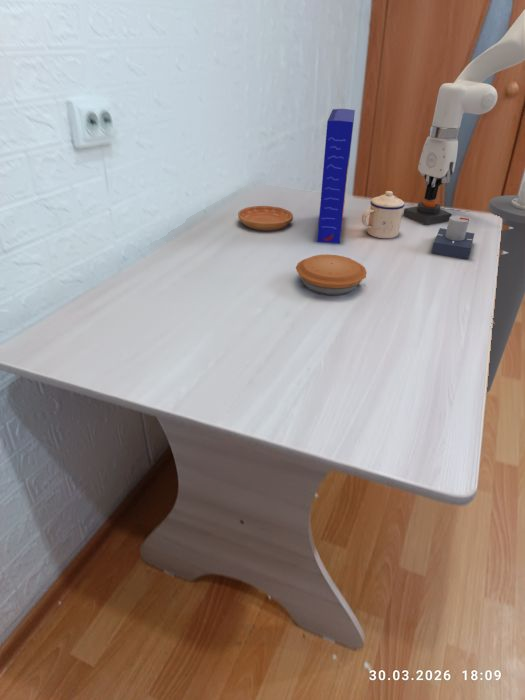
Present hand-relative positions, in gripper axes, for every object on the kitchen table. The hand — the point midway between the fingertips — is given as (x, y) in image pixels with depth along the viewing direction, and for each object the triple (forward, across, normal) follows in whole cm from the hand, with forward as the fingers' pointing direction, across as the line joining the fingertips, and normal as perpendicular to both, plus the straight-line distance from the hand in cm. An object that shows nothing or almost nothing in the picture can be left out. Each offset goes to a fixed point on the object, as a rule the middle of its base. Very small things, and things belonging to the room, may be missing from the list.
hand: (430, 199), depth 145 cm
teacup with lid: (+6, +5, -23) cm, 24 cm away
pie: (+6, +26, -54) cm, 60 cm away
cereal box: (+6, -4, -33) cm, 34 cm away
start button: (+2, 0, 0) cm, 2 cm away
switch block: (+6, 0, 0) cm, 6 cm away
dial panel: (+6, +22, -12) cm, 26 cm away
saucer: (+6, -16, -48) cm, 51 cm away
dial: (+3, +22, -12) cm, 25 cm away
